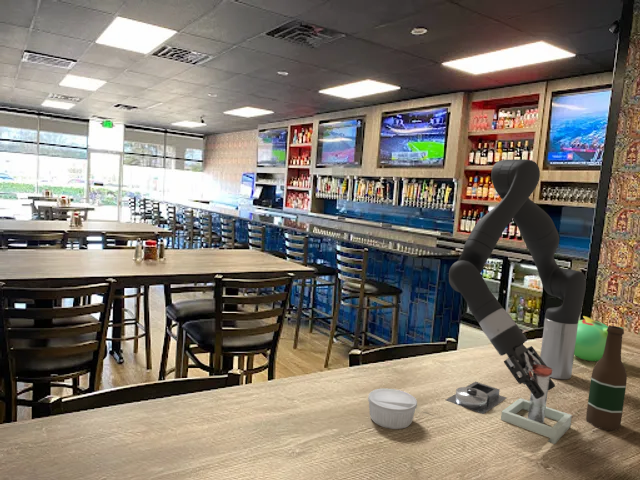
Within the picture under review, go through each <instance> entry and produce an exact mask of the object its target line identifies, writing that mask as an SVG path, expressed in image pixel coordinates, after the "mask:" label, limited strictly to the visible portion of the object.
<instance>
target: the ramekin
mask: <svg viewBox="0 0 640 480" xmlns="http://www.w3.org/2000/svg"><path fill="white" fill-rule="evenodd" d="M367 400H368V406H369V407H368V408H369V409H368V410H369V416H370V418H371V420H372V421H373V422H374V424H376V425H378V426H380V427H382V428H386V429H391V430H402V429H405V428H407V427H409V426H410V425H411V424H412V422H413V419H414V416H415V412H416V409H417V407H418V400H417V399H416V397H415V396H413V395H412V394H410V393H408V392H406V391H404V390H400V389H395V388H387V387H385V388H375V389H373V390H372V391H370V392H369V393H368V396H367Z"/></svg>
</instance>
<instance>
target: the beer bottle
mask: <svg viewBox="0 0 640 480" xmlns="http://www.w3.org/2000/svg"><path fill="white" fill-rule="evenodd" d="M607 326H608V325H607ZM620 327H621V326H616V325H615V326H614V325H609V326H608V328H607V332H608V334H607V339H606V344H605V349H604V353H603V356H602V358H601V359H600V360H599V361H596V363H595V365H594V367H593V368H592V373H591V378H590V382H589V383H590V384H589V390H588V391H589V392H588V398H587V400H588V401H587V407H586V414H585V415H586V416H585V421H586V422H587V423H589V424H590V425H592V426H593V427H595V428H598V429H599V428H600V429H602V430H605V431H619V430H620V428H621V424H622V419H623V418H622V417H623V410H624V403H625V396H626V395H625V394H626V388H627V382H628V380H627V379H628V376H627V375H628V374H627V370H626V367H625V365H624V364H623V362H622V347H623V346H622V345H623V344H622V343H623V335H624V334H625V330H624V329H623V328H624V327H623V328H620Z"/></svg>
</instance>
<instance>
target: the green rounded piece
mask: <svg viewBox="0 0 640 480" xmlns="http://www.w3.org/2000/svg"><path fill="white" fill-rule="evenodd" d="M582 317H583V319H579V320H578V328H577V336H576V344H575V351H574V357H575V356H576V358H578V359H580V360H584V361H587V362H598V361H599V360H600V359H601V358H602V356H603V353H604V349H605V344H606V339H607V334H608V332H607V328H608V325H606V324H605V323H603V322H601V321H600V320H594V319H592V318H591V317H588V316H585V315H583V316H582ZM619 327H620V328H623V329H624V327H623V326H619Z"/></svg>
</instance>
